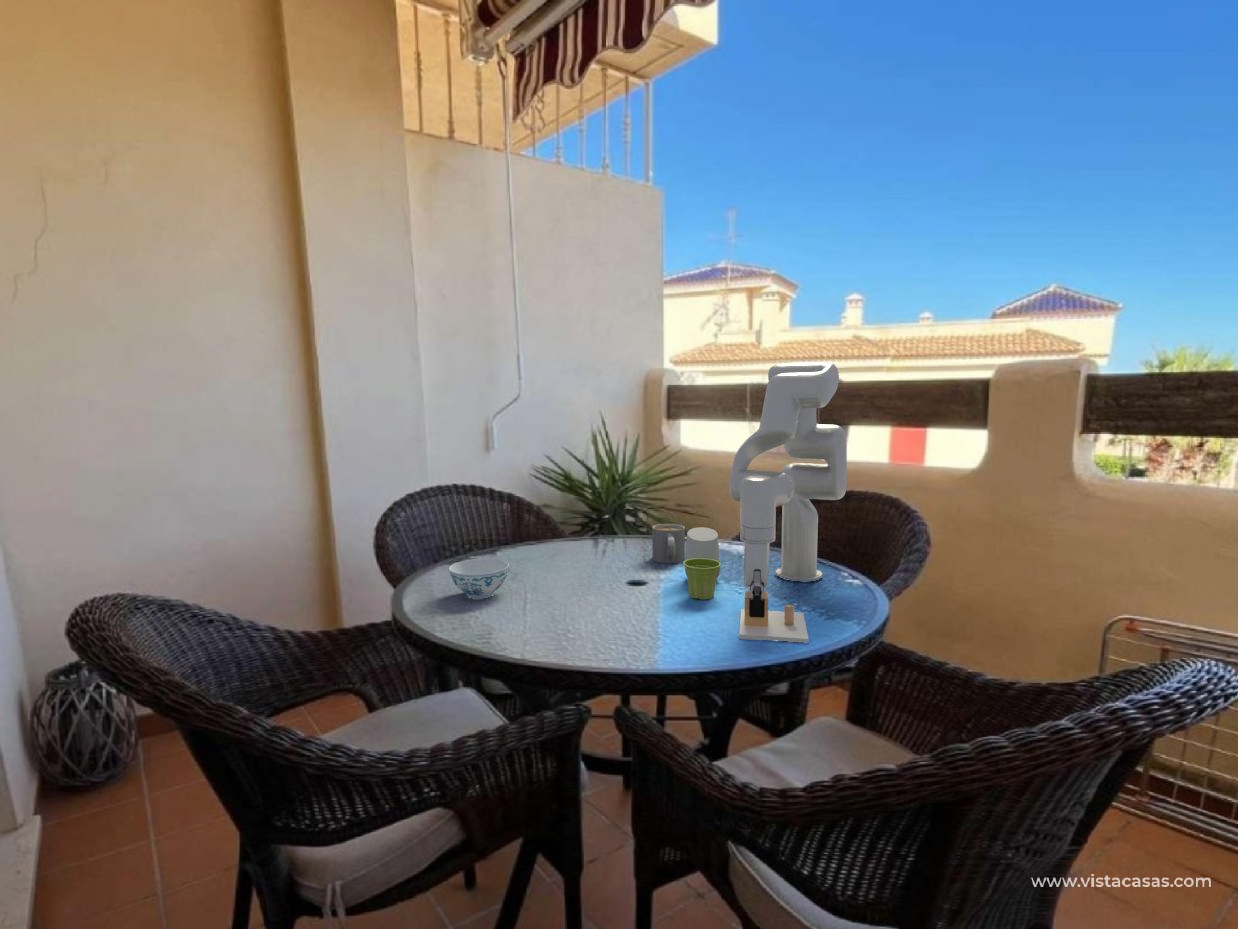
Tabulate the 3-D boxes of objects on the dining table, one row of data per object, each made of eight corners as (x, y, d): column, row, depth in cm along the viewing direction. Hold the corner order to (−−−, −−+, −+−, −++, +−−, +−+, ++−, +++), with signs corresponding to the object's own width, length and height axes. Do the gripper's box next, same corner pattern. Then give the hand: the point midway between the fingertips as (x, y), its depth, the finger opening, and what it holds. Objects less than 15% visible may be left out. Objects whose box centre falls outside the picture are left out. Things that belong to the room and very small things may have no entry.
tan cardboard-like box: (744, 617, 147) (745, 590, 147) (767, 618, 146) (768, 591, 146) (744, 625, 142) (744, 597, 142) (768, 626, 141) (768, 598, 141)
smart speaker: (687, 585, 175) (687, 534, 173) (682, 575, 184) (683, 526, 182) (722, 584, 175) (723, 533, 173) (716, 575, 184) (716, 526, 183)
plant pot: (709, 588, 172) (709, 556, 171) (727, 599, 163) (727, 565, 162) (676, 593, 168) (676, 560, 167) (694, 604, 160) (694, 569, 159)
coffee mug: (654, 554, 208) (654, 523, 207) (685, 555, 206) (685, 524, 205) (649, 565, 195) (648, 532, 194) (682, 566, 193) (682, 533, 192)
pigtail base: (741, 613, 153) (741, 592, 152) (803, 616, 150) (803, 595, 149) (739, 638, 137) (739, 615, 137) (808, 643, 134) (808, 620, 134)
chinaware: (478, 583, 179) (477, 556, 178) (521, 591, 171) (520, 563, 170) (437, 599, 166) (436, 569, 165) (482, 608, 158) (480, 577, 157)
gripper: (741, 524, 151) (740, 595, 153) (739, 542, 134) (738, 622, 137) (774, 525, 150) (773, 597, 152) (776, 543, 133) (775, 624, 135)
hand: (756, 609), depth 144 cm, fingers open, 9 cm apart
